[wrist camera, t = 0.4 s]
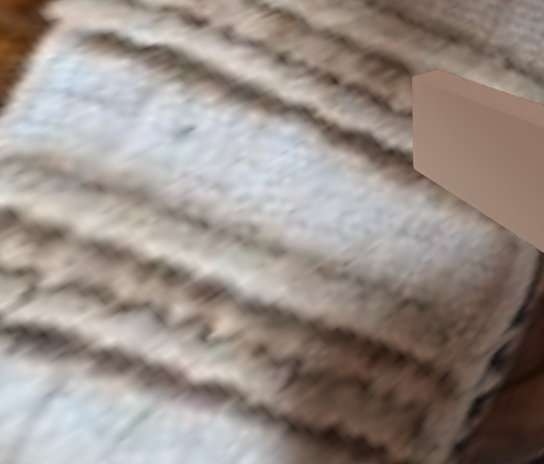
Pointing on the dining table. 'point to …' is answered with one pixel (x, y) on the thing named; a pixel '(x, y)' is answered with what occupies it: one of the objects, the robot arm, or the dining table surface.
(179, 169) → the dining table surface
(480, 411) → the dining table surface
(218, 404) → the dining table surface
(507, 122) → the robot arm
